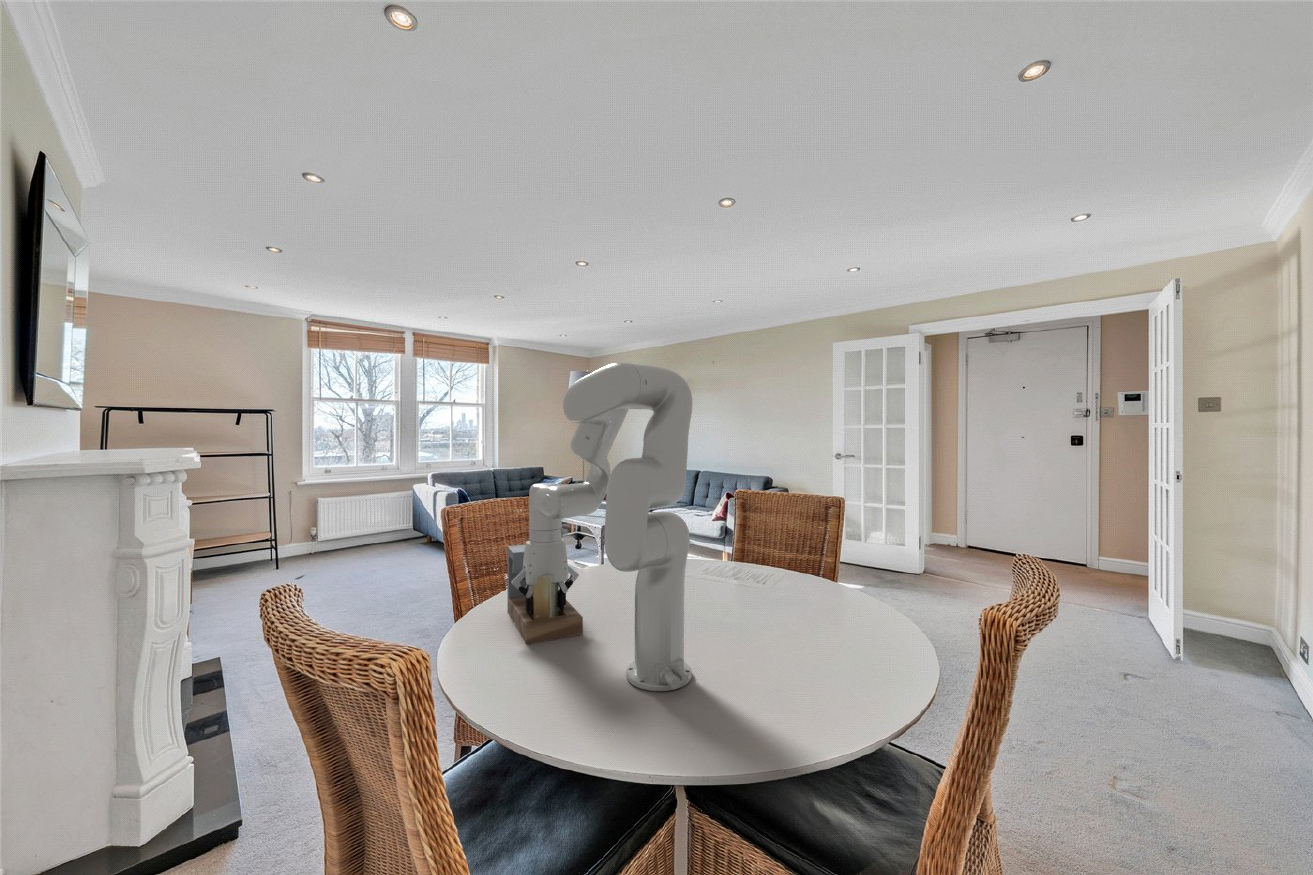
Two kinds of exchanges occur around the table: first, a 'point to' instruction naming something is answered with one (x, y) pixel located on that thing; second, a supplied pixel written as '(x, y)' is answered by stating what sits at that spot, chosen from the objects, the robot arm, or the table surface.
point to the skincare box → (545, 598)
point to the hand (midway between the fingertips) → (545, 610)
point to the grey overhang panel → (515, 569)
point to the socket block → (545, 622)
